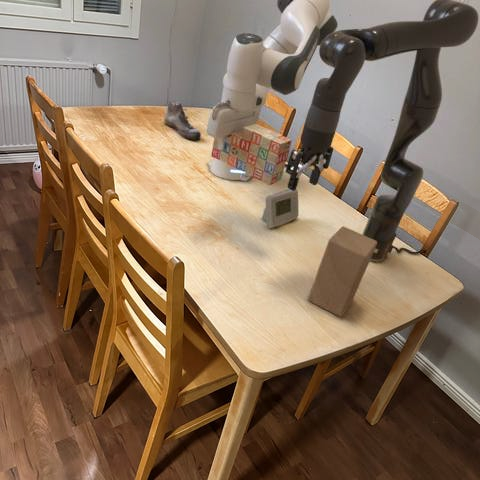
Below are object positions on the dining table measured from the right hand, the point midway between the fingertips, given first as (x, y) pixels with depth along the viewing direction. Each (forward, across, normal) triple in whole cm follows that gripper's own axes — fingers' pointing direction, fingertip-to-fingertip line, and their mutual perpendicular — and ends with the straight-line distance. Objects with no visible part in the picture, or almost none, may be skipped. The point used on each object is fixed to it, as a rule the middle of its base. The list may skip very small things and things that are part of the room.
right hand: (302, 186), depth 113 cm
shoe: (+28, +39, +100) cm, 112 cm away
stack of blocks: (+5, +1, +21) cm, 22 cm away
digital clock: (+28, +23, +20) cm, 41 cm away
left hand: (0, -1, +28) cm, 28 cm away
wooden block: (+28, +4, -16) cm, 33 cm away
